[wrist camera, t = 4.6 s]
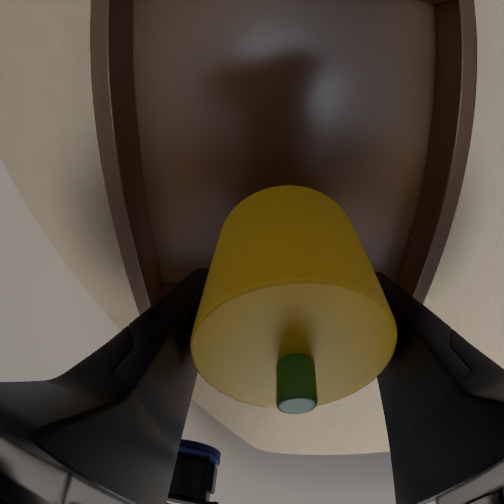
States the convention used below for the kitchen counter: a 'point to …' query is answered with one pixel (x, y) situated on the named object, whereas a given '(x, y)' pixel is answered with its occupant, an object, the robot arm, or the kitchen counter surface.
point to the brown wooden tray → (281, 122)
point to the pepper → (291, 305)
